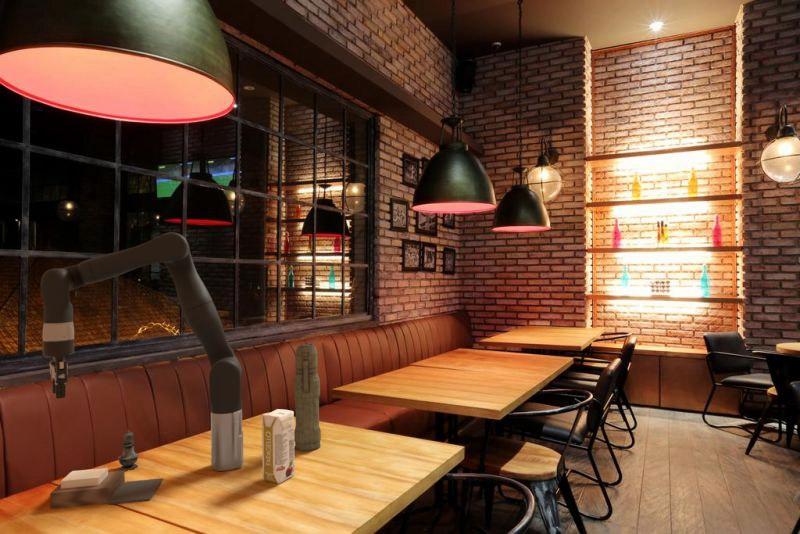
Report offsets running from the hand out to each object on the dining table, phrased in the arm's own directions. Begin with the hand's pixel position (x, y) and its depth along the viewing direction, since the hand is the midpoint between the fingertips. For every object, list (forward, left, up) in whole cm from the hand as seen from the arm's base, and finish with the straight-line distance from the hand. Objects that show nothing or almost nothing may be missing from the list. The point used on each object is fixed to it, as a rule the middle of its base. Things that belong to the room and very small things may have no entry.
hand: (58, 395), depth 147 cm
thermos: (-70, -16, -26) cm, 76 cm away
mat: (-23, +9, -26) cm, 36 cm away
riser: (-11, +9, -26) cm, 30 cm away
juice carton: (-61, +9, -26) cm, 67 cm away
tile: (-10, +9, -22) cm, 26 cm away
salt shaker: (-15, -11, -26) cm, 32 cm away
